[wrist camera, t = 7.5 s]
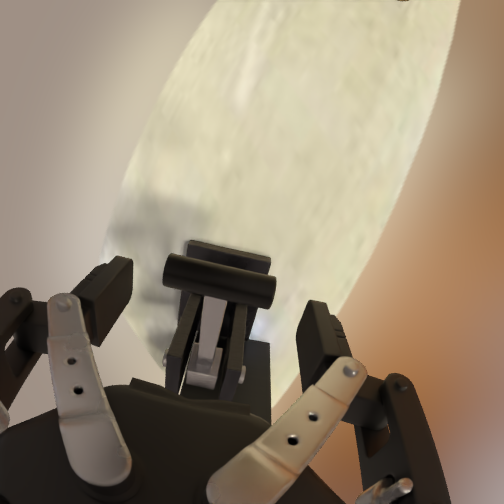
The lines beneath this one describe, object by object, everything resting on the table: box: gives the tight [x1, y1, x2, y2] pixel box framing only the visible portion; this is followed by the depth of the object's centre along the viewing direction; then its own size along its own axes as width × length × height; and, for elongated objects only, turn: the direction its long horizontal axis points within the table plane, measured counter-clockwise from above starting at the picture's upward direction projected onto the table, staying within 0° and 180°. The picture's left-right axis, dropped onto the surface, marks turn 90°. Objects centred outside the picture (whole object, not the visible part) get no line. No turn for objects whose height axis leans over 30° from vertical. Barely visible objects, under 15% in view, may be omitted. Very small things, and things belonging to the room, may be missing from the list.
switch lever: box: [163, 253, 276, 390], centre depth 17 cm, size 12×5×2 cm, turn 165°
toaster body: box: [180, 331, 271, 424], centre depth 28 cm, size 7×8×12 cm
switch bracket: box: [163, 240, 271, 402], centre depth 24 cm, size 10×8×13 cm
